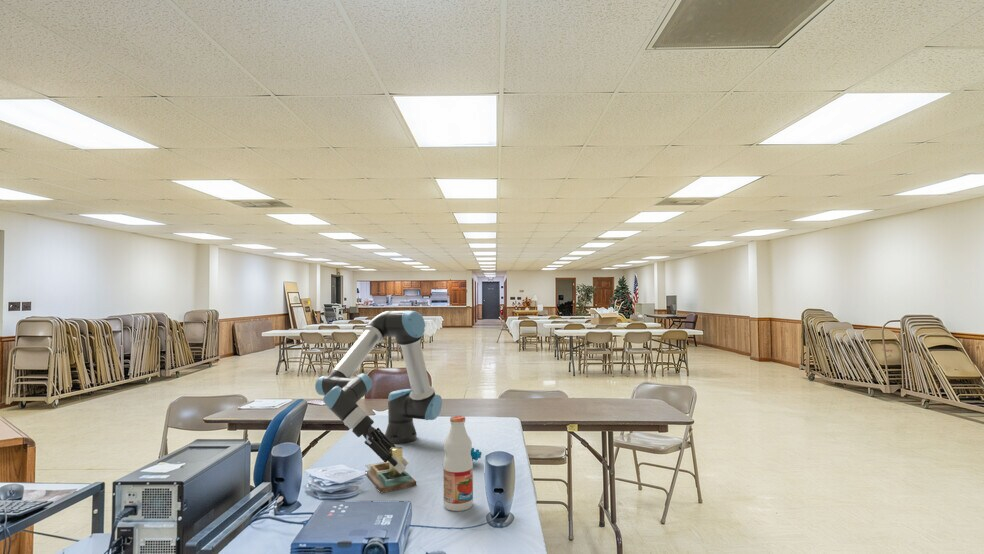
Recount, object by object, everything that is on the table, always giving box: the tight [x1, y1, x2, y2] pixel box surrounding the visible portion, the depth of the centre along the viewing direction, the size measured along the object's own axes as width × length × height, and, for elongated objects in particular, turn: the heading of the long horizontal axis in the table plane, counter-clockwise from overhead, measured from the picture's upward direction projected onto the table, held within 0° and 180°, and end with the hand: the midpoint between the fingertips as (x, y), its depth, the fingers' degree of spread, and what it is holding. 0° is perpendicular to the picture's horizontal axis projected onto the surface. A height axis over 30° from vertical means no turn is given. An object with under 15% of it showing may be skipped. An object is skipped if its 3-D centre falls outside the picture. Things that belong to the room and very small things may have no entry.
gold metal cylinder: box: [388, 446, 404, 480], centre depth 171 cm, size 5×5×11 cm
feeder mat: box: [364, 461, 388, 470], centre depth 189 cm, size 10×9×1 cm
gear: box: [471, 447, 482, 462], centre depth 190 cm, size 11×6×10 cm
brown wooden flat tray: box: [364, 461, 417, 494], centre depth 175 cm, size 13×20×4 cm, turn 30°
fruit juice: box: [442, 415, 474, 512], centre depth 153 cm, size 9×9×28 cm
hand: (404, 468), depth 171 cm, fingers closed on gold metal cylinder, 5 cm apart
